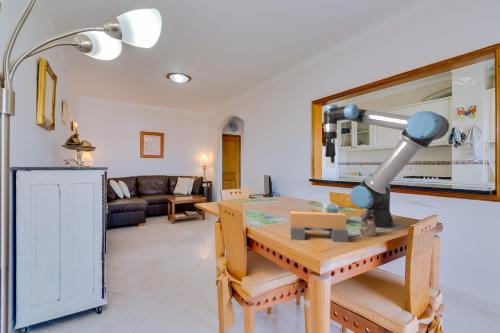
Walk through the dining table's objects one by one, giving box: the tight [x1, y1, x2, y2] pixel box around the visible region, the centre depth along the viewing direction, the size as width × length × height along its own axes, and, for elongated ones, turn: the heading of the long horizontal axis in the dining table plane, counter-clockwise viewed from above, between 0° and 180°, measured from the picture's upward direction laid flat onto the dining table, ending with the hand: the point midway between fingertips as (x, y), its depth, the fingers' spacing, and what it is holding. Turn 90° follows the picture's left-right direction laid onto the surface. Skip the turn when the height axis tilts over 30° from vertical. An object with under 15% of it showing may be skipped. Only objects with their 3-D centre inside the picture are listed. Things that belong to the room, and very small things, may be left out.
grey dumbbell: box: [290, 226, 349, 243], centre depth 110 cm, size 24×10×5 cm, turn 81°
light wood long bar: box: [290, 210, 347, 229], centre depth 110 cm, size 24×5×6 cm, turn 81°
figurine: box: [358, 209, 377, 238], centre depth 114 cm, size 7×7×12 cm
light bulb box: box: [321, 201, 340, 213], centre depth 136 cm, size 11×7×11 cm, turn 179°
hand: (329, 167), depth 142 cm, fingers open, 13 cm apart
